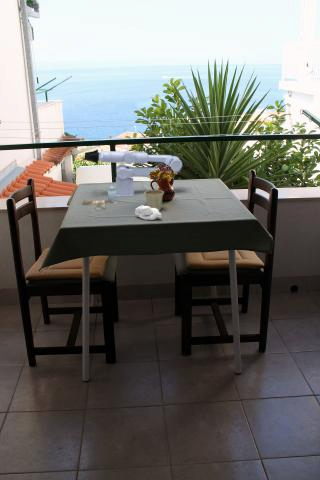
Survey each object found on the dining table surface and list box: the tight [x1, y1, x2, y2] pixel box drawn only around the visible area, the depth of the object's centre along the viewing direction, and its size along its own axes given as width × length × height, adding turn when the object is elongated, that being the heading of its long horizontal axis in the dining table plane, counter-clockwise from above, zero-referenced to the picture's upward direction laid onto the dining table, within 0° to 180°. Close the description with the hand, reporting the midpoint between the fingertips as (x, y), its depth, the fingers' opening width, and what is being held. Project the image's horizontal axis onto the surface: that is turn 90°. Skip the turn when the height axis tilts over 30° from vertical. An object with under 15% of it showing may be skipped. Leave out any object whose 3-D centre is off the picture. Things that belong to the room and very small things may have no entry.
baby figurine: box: [134, 204, 162, 221], centre depth 227 cm, size 9×12×8 cm
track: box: [82, 198, 118, 206], centre depth 253 cm, size 17×6×2 cm, turn 96°
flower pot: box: [144, 189, 165, 211], centre depth 239 cm, size 9×9×9 cm
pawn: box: [107, 185, 118, 204], centre depth 252 cm, size 4×4×8 cm
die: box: [95, 199, 106, 211], centre depth 243 cm, size 4×4×4 cm
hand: (84, 156), depth 258 cm, fingers open, 7 cm apart
